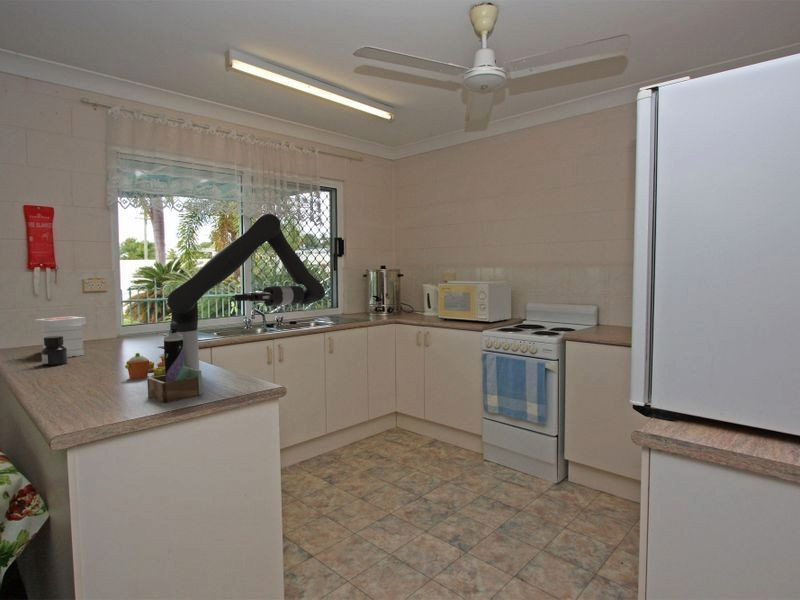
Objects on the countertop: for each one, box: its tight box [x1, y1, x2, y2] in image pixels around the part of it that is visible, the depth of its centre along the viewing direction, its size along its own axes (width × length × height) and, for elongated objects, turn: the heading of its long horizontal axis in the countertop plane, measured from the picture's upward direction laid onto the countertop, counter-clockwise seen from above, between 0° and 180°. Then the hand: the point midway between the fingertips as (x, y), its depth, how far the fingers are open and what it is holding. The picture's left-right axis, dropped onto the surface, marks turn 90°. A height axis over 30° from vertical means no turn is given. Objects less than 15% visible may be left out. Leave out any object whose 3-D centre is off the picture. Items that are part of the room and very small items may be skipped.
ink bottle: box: [41, 336, 69, 367], centre depth 201 cm, size 10×9×12 cm
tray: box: [184, 366, 203, 395], centre depth 147 cm, size 12×10×7 cm
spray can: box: [163, 329, 185, 382], centre depth 146 cm, size 6×6×20 cm
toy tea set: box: [124, 352, 165, 380], centre depth 181 cm, size 26×16×10 cm, turn 17°
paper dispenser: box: [34, 315, 87, 358], centre depth 226 cm, size 19×30×18 cm, turn 39°
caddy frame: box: [146, 375, 199, 404], centre depth 146 cm, size 12×10×6 cm
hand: (235, 297), depth 161 cm, fingers closed
